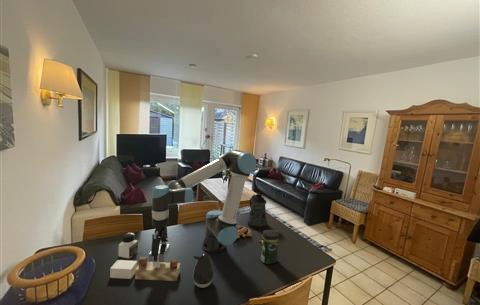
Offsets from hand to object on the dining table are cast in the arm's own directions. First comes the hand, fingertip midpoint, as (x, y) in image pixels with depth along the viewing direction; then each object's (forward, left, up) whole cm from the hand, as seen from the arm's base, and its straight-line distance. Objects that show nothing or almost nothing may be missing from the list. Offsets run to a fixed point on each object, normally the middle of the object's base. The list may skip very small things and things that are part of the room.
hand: (159, 260), depth 104 cm
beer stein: (-56, -64, -8) cm, 85 cm away
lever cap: (0, 0, +2) cm, 2 cm away
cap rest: (+17, 0, -8) cm, 19 cm away
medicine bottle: (+23, -16, -8) cm, 29 cm away
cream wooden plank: (0, 0, -8) cm, 8 cm away
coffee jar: (-59, -17, -8) cm, 62 cm away
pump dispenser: (-23, +4, -8) cm, 25 cm away
